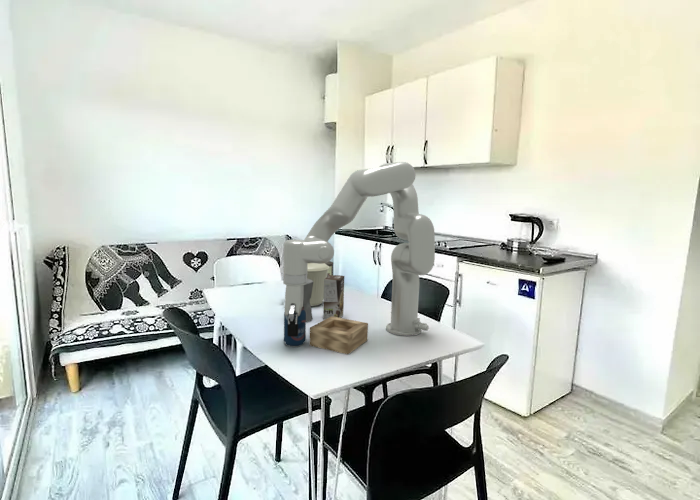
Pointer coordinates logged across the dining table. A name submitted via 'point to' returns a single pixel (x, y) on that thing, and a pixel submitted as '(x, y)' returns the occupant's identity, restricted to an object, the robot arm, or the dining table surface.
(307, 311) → the coffeepot
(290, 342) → the soda can
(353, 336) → the square wooden tray
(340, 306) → the coffee box
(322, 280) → the canister
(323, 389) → the dining table surface
